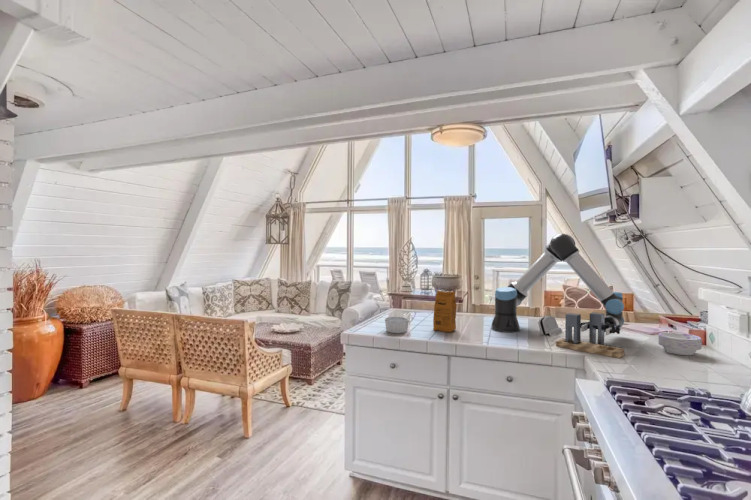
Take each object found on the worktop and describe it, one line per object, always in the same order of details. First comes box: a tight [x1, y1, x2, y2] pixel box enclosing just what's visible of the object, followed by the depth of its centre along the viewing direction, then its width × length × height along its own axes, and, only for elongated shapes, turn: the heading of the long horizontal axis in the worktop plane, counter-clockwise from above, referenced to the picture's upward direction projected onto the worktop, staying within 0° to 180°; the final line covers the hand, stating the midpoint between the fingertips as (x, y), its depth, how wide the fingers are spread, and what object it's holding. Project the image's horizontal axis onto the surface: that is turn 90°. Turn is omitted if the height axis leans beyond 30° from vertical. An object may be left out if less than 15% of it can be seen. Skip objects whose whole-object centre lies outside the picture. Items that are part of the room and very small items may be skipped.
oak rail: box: [555, 337, 626, 359], centre depth 173 cm, size 26×8×2 cm, turn 44°
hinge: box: [537, 315, 563, 337], centre depth 208 cm, size 17×5×10 cm, turn 134°
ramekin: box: [384, 316, 410, 334], centre depth 208 cm, size 13×13×7 cm
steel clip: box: [588, 311, 606, 345], centre depth 180 cm, size 5×5×16 cm
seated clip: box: [564, 312, 582, 344], centre depth 178 cm, size 5×5×16 cm
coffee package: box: [432, 290, 457, 333], centre depth 212 cm, size 10×12×22 cm
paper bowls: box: [657, 331, 703, 356], centre depth 170 cm, size 15×15×8 cm
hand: (594, 330), depth 177 cm, fingers open, 10 cm apart
